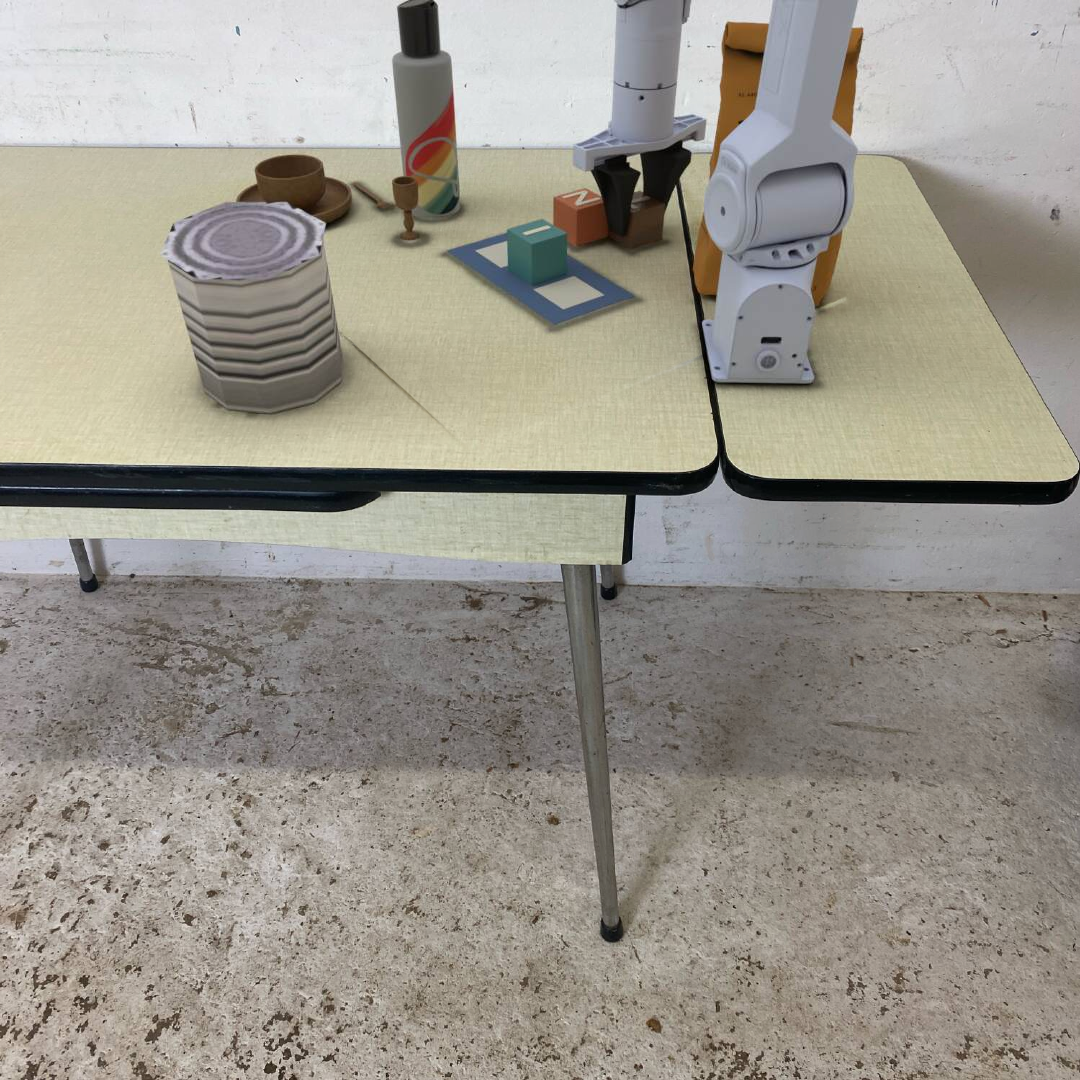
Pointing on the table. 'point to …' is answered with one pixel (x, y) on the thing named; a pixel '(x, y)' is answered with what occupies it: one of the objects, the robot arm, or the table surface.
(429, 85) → the lotion bottle
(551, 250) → the tile
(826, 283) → the coffee package
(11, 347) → the table surface
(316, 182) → the place setting
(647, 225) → the brown letter t cube
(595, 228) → the orange letter cube
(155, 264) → the table surface
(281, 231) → the can
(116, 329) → the table surface
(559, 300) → the word mat
